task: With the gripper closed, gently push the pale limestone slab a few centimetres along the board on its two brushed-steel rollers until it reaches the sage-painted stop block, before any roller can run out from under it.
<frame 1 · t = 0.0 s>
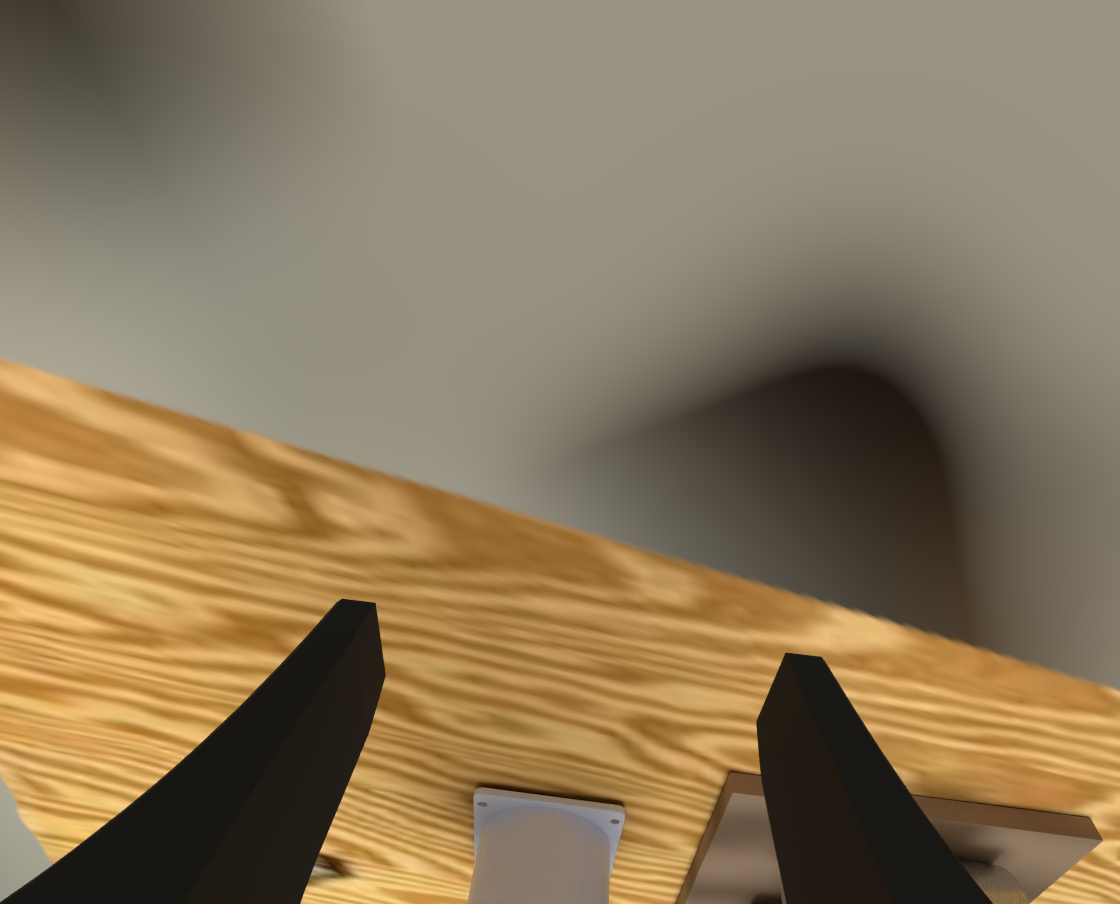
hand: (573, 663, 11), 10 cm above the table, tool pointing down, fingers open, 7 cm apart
board: (835, 892, 37), on the table
roller 2: (885, 855, 32), point 1 cm above the table, touching board, slab
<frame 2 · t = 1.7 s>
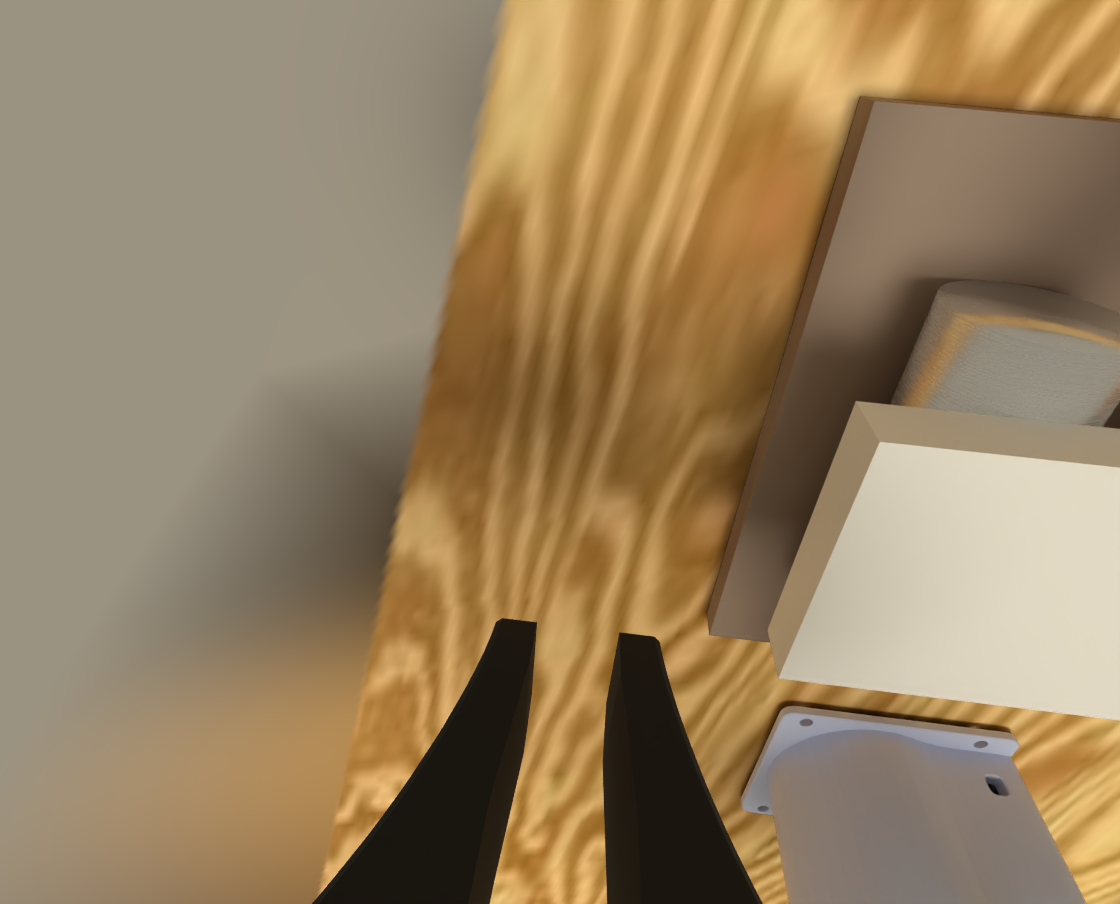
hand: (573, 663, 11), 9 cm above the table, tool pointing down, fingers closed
roller 2: (912, 453, 18), point 1 cm above the table, touching board, slab
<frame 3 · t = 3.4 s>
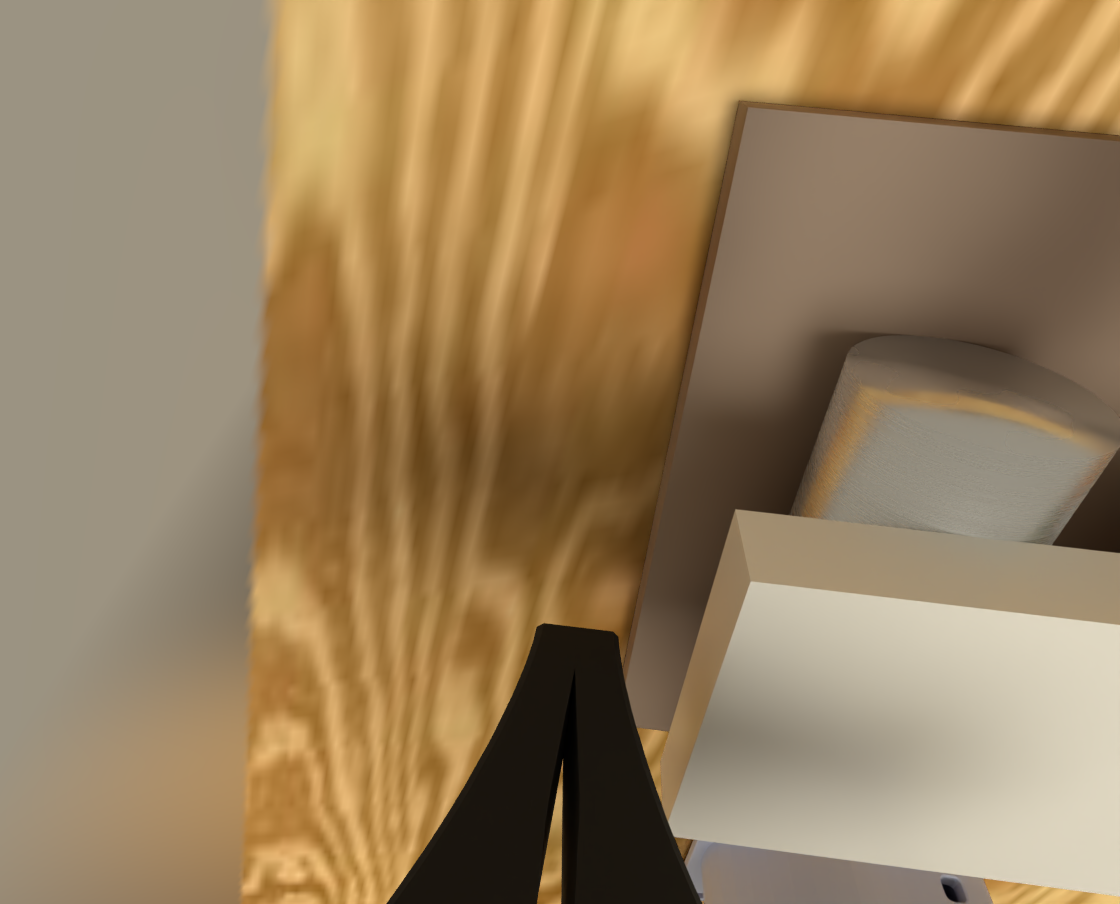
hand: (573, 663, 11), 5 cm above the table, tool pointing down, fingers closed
board: (1114, 542, 15), on the table
roller 2: (833, 534, 15), point 1 cm above the table, tilted 6°, touching board, slab
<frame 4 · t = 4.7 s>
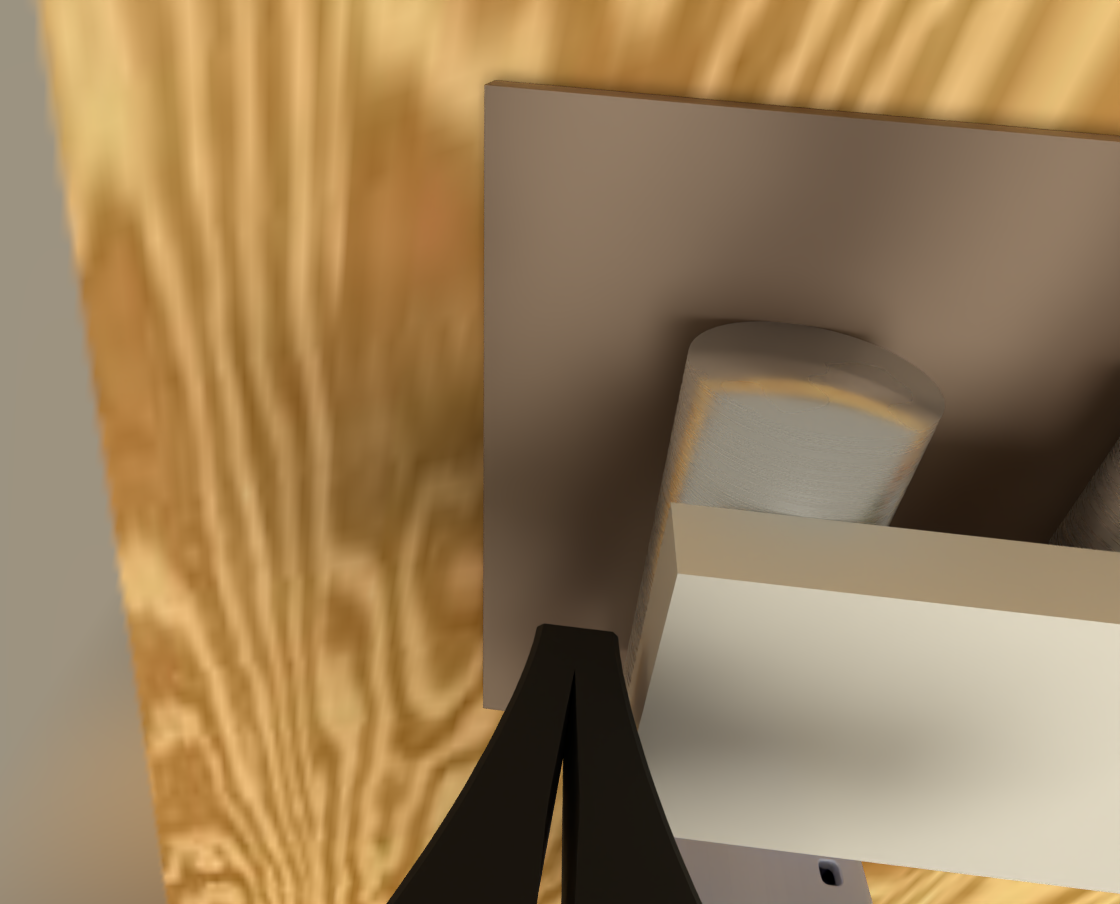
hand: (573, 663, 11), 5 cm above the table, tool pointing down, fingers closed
roller 1: (1022, 579, 14), point 2 cm above the table, tilted 52°, touching board, slab
board: (937, 521, 15), on the table
roller 2: (662, 536, 14), point 2 cm above the table, tilted 51°, touching board
slab: (1082, 703, 11), point 5 cm above the table, touching roller 1
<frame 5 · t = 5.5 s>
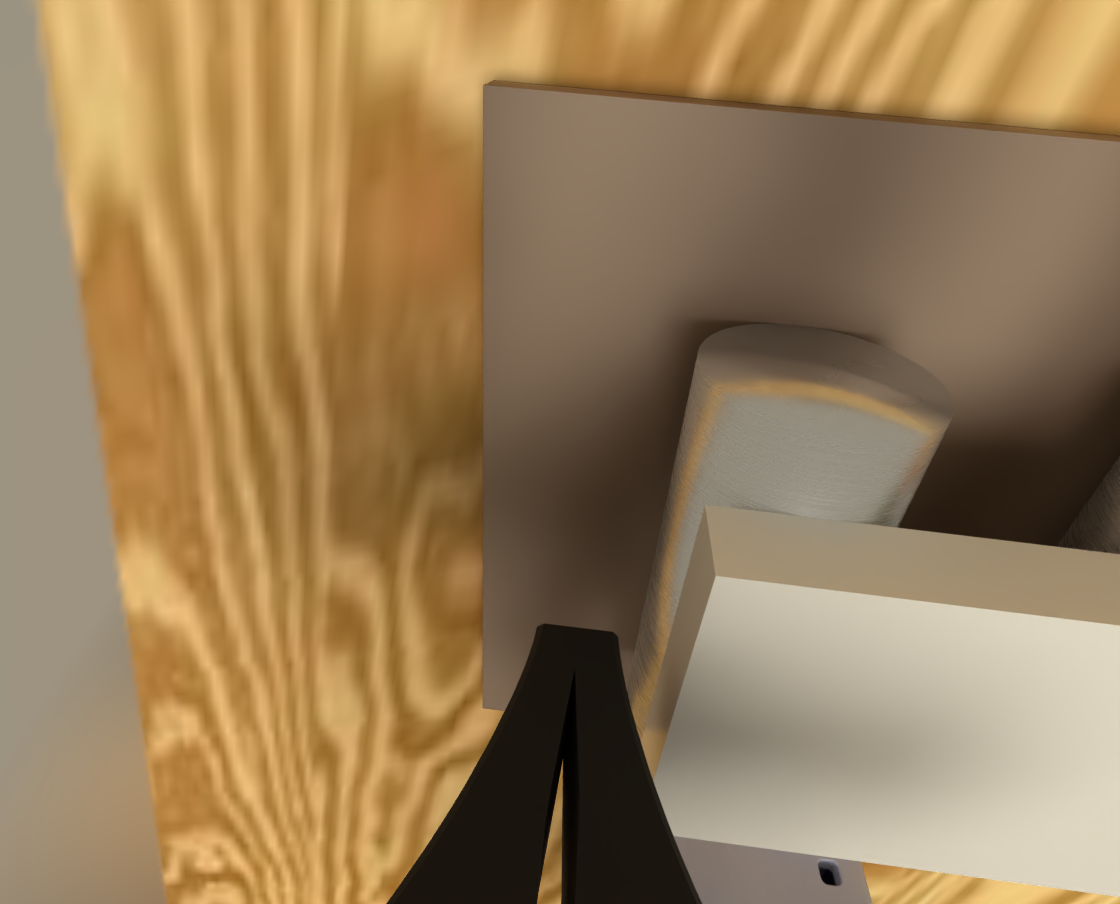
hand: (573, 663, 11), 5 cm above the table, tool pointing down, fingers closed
roller 1: (1030, 587, 14), point 2 cm above the table, tilted 59°, touching board, slab
board: (936, 521, 15), on the table
roller 2: (665, 541, 14), point 2 cm above the table, tilted 56°, touching board, slab
slab: (1111, 709, 11), point 5 cm above the table, touching roller 1, roller 2
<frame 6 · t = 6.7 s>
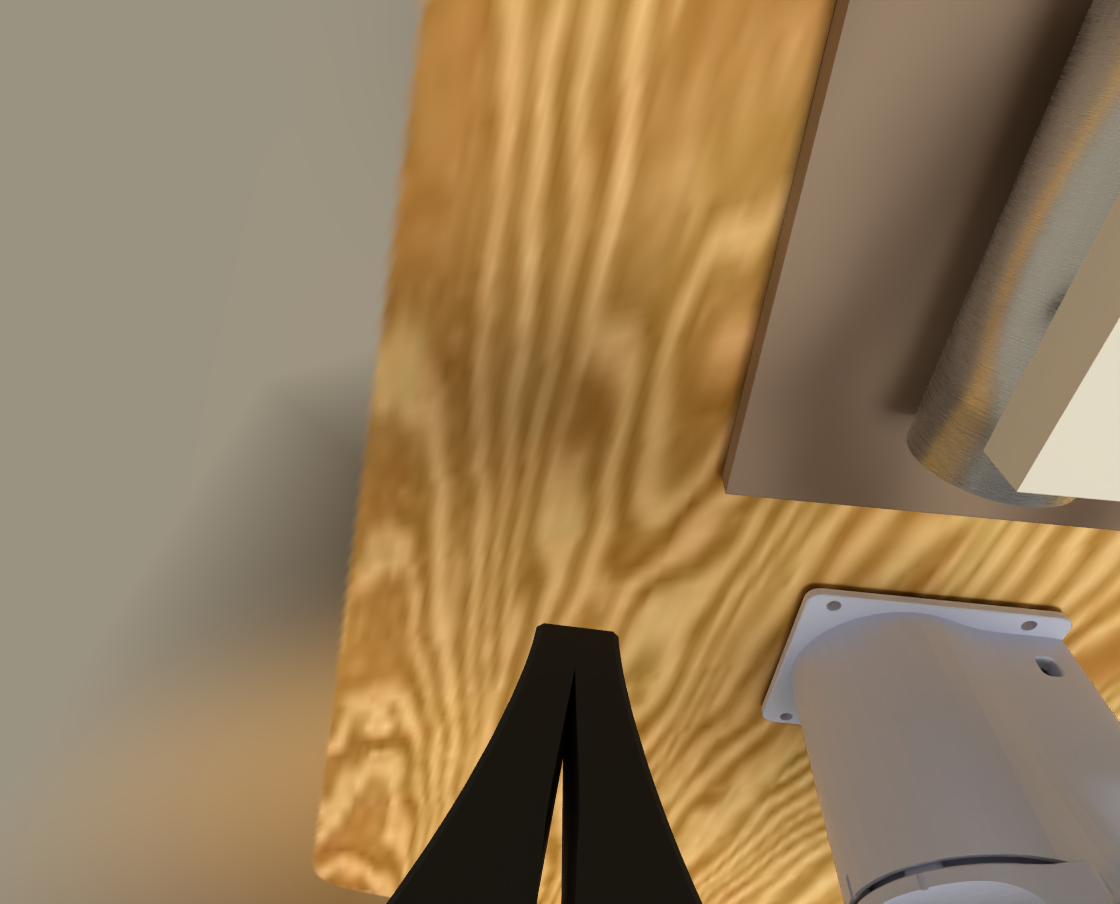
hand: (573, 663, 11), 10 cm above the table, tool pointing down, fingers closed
roller 2: (986, 250, 15), point 2 cm above the table, tilted 55°, touching board, slab
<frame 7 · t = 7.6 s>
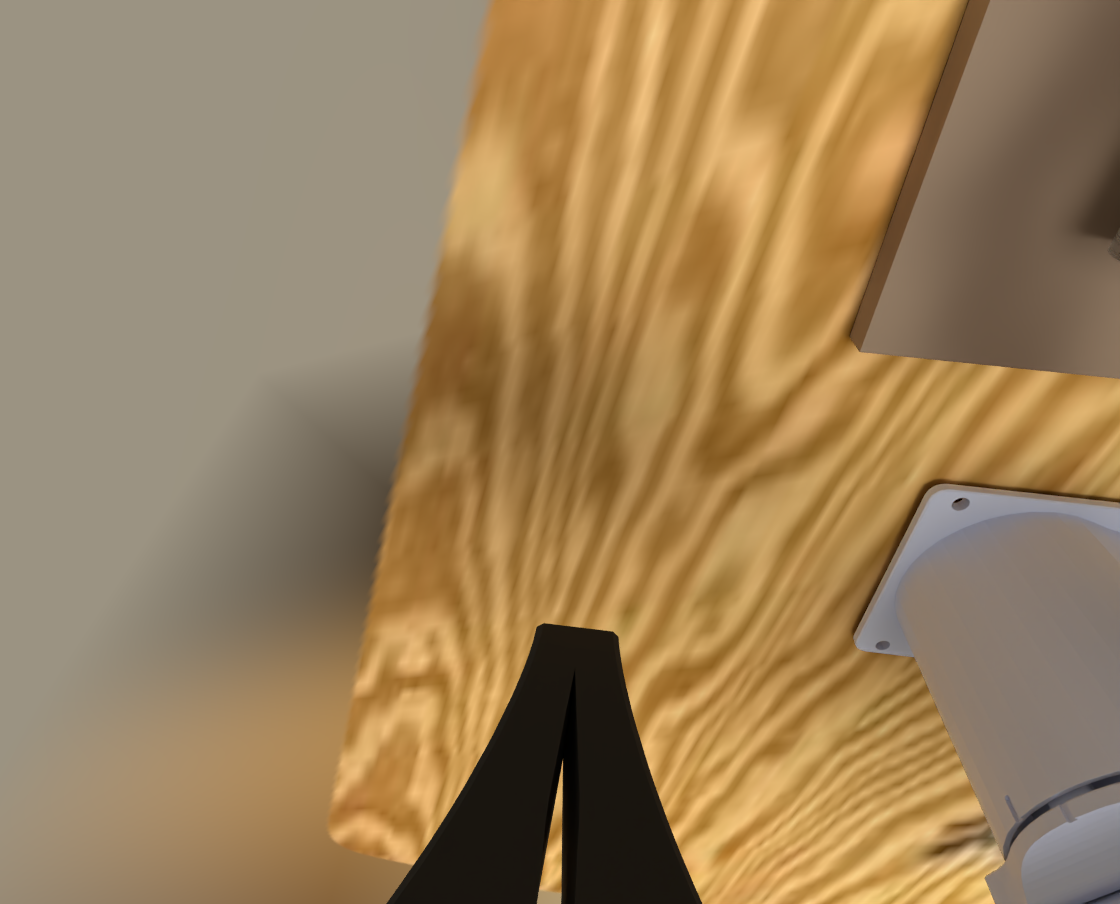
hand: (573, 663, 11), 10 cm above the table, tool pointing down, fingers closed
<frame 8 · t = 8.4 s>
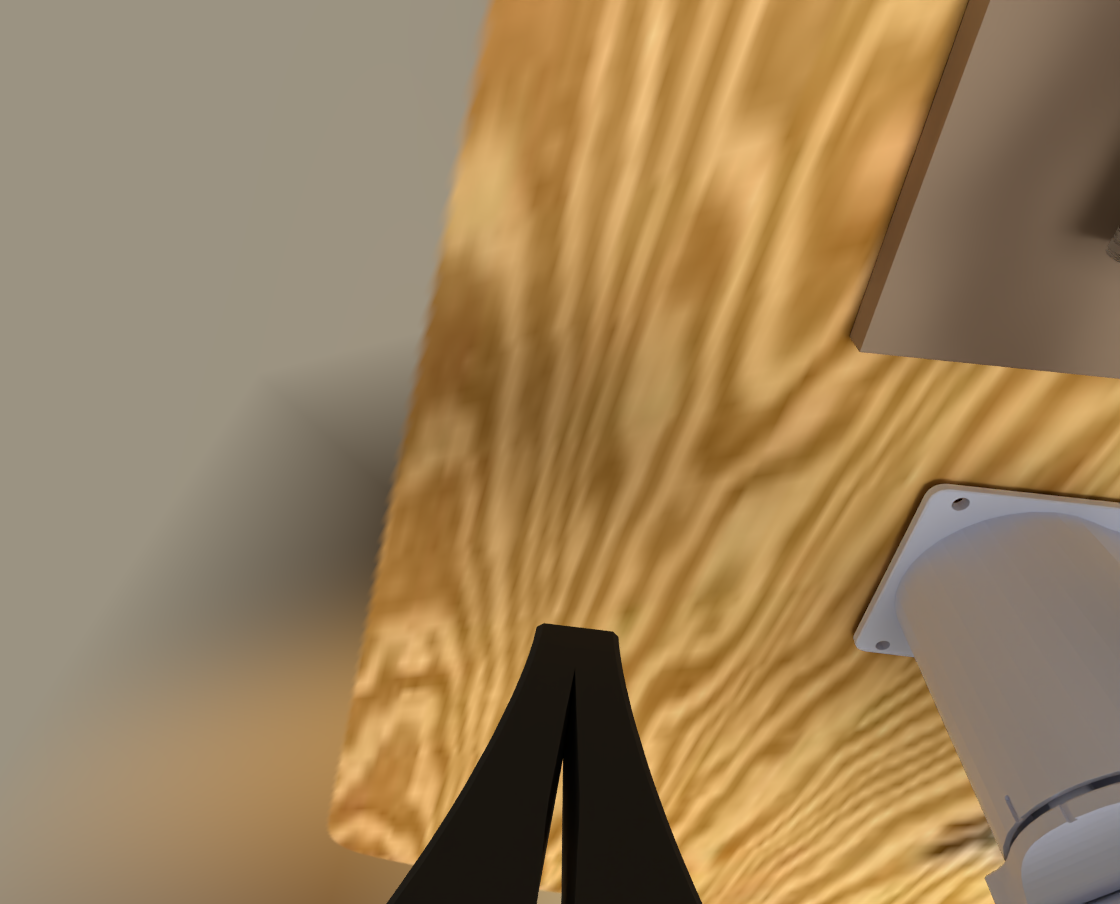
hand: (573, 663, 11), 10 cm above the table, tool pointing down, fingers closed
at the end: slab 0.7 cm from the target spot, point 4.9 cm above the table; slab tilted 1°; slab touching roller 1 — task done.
